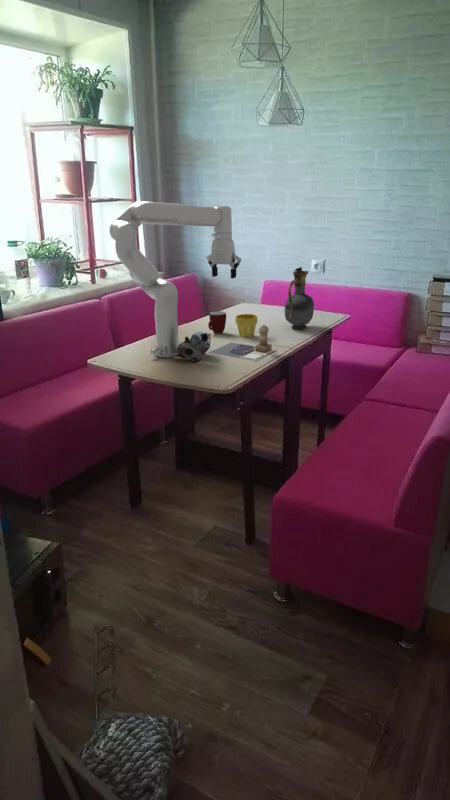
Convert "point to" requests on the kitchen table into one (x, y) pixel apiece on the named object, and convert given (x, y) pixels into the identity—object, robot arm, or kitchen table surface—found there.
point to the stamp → (263, 340)
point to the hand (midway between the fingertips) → (224, 277)
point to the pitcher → (299, 302)
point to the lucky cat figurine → (195, 346)
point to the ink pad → (242, 349)
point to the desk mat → (226, 351)
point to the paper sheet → (256, 354)
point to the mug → (217, 321)
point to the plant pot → (246, 324)
